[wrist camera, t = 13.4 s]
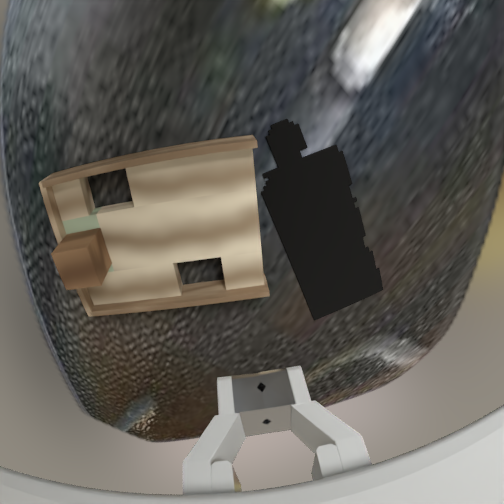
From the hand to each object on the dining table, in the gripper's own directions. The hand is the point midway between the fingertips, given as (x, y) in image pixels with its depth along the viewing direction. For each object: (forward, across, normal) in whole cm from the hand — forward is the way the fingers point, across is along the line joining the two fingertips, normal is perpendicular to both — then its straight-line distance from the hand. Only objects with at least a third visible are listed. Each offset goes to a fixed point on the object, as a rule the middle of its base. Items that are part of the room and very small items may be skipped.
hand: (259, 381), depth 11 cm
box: (+29, +9, +6) cm, 31 cm away
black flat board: (+30, -12, +9) cm, 33 cm away
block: (+27, +18, +6) cm, 33 cm away
